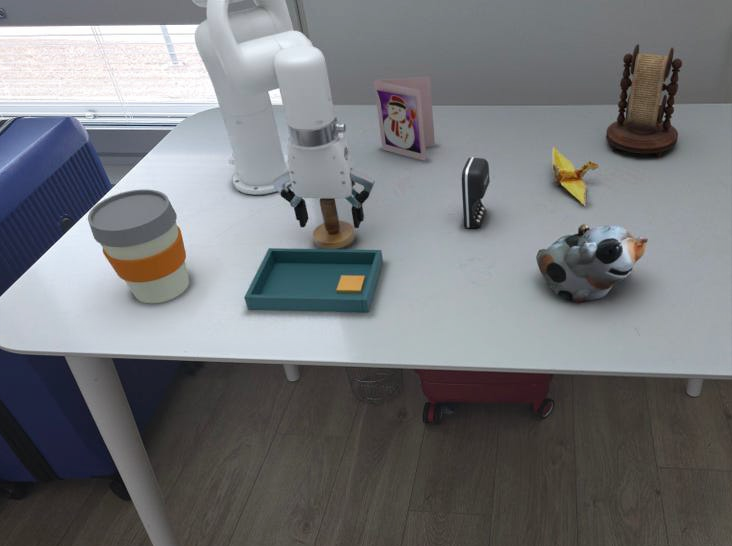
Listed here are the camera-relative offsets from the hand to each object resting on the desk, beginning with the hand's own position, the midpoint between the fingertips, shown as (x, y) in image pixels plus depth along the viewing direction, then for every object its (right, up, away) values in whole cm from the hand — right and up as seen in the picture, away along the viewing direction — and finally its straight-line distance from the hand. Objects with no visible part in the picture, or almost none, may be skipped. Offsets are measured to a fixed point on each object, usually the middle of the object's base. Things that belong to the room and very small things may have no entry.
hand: (331, 223), depth 121 cm
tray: (-1, -12, -7) cm, 14 cm away
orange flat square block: (+5, -12, -8) cm, 15 cm away
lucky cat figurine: (+44, -11, -8) cm, 46 cm away
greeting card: (+12, +21, +28) cm, 37 cm away
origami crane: (+44, +11, +15) cm, 47 cm away
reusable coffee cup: (-28, -12, -5) cm, 30 cm away
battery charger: (+26, +2, +7) cm, 27 cm away
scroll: (+61, +22, +26) cm, 70 cm away
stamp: (0, -3, +3) cm, 4 cm away
